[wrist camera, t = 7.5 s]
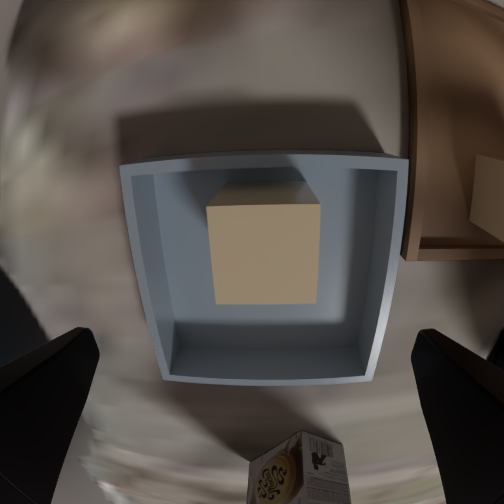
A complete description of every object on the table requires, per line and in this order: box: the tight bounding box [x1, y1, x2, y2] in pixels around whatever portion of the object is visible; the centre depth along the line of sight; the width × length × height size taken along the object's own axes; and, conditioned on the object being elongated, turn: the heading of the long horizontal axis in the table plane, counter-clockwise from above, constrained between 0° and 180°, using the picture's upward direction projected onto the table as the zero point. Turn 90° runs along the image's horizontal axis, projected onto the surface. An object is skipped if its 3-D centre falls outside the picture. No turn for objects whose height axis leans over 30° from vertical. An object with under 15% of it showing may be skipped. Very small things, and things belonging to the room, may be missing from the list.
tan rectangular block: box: [206, 181, 321, 304], centre depth 15 cm, size 4×4×6 cm
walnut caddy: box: [399, 0, 504, 261], centre depth 14 cm, size 19×15×1 cm
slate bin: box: [119, 150, 409, 386], centre depth 18 cm, size 14×14×4 cm
